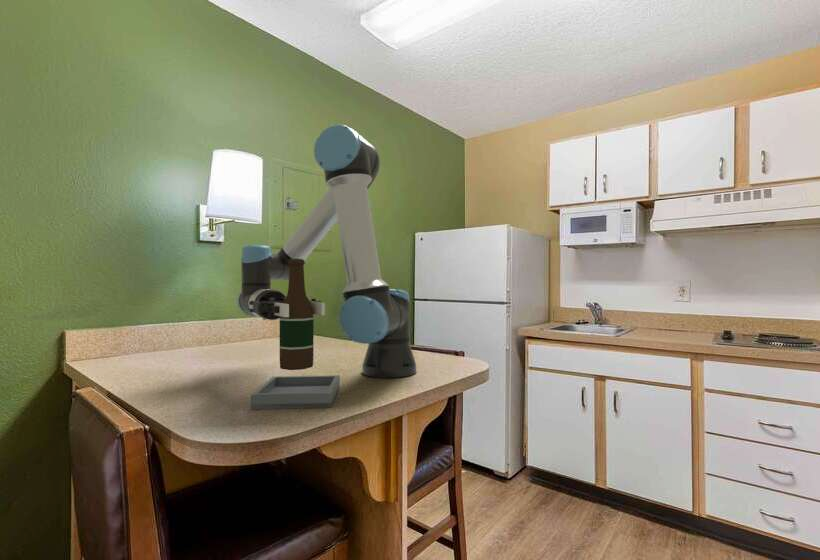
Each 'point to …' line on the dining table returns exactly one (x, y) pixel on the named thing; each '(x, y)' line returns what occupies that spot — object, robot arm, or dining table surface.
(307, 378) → the tray
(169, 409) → the dining table surface
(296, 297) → the beer bottle
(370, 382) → the dining table surface
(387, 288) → the robot arm
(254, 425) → the dining table surface
